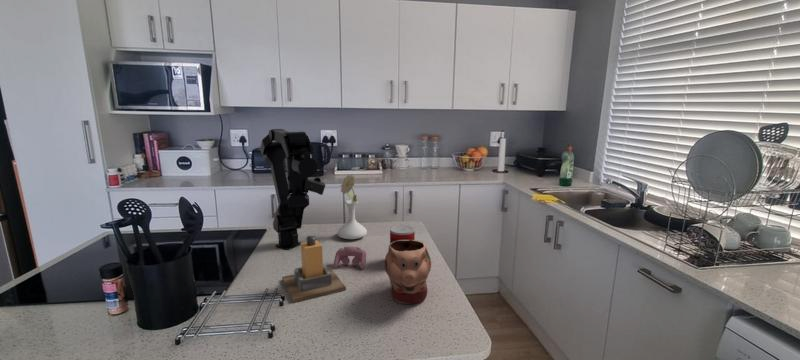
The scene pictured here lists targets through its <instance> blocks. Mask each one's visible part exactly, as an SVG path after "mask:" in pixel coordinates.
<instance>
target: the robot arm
mask: <svg viewBox="0 0 800 360" xmlns="http://www.w3.org/2000/svg"><path fill="white" fill-rule="evenodd" d="M260 154H261V156H263V161H264V162H265V163H266V164H267V165H268V166H269V167H270V170H271V171H270V172H271V177H272V180H273V184H274V190H275V195H276V199H277V203H278V206H277V208H276V211H275V212H274V213H275V216H274V218H273V219H274V220H273V223H272V226H273V230H274V232H276V233H277V236H278V238H277V239H278V243H277V244H275V247H277V248H281V249H285V250H290V249H293V248H295V247H297V246H299V245H300V246H301V243H302V242H301V241H299V234H298V229H299V230H300V229H302V226H303V225H302V224H303V217H304V212H305V211H304V210H305V209H306V208H307V207H309V205H310V196H309V194H308V193H309V192H311V193H316V194H318V195H323V194H324V191H325V188H326V184H325V183H324V181H323V182H322V180H321V177H319V176H315V177H314V178H310V177H313V176H314V175H315V174H316V173H317V171H318V168H319V167H318V163H317V161H316V160H315V159H314V158H313V157H312V156H311V155H313V154H314V147H313V144H312V142H311V139H310V138H309V136H308V134H307V133H306V131H287V130H286V129H284V128H271V129H269V131H268V134H267V135H266V136H265V137H263V138H262V140H261V143H260ZM285 159H286V169H285V165H284V161H285ZM286 171H287V172H286Z"/></svg>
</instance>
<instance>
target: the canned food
mask: <svg viewBox="0 0 800 360" xmlns="http://www.w3.org/2000/svg"><path fill="white" fill-rule="evenodd" d="M415 232H416V231H415V228H414V227H413V226H412V225H406V224H405V225H404V224H399V225H394V226H392V227H391V228H390V231H389V245H390V244H391V243H392V242H394V241H398V240H416V239H415V234H416V233H415Z"/></svg>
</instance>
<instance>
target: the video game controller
mask: <svg viewBox="0 0 800 360" xmlns="http://www.w3.org/2000/svg"><path fill="white" fill-rule="evenodd" d="M349 257H353V258H352V259H351V263H352V265H354V266H358V265H359V264H360V265H359V266H360V269H361V270H364V269H365V266H366V262H367V252H366V251H365V250H364V249H362V248H361V247H357V246H344V247H340V248H339V249H338V250H337V251H336V253H335V256H334V261H333V268H334V269H338V267H339V265H340V262H341V263H342V264H343V265H344V266H348V265H349V264H350V258H349Z"/></svg>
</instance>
